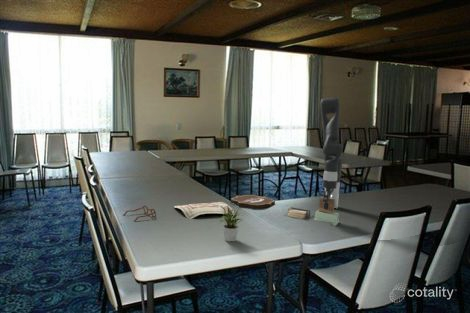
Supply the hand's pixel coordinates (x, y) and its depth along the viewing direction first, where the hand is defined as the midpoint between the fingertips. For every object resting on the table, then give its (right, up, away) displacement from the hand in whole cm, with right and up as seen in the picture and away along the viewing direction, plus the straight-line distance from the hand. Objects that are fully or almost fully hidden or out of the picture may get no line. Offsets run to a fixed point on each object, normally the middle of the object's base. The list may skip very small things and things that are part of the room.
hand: (327, 207), depth 210 cm
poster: (-70, -4, +9) cm, 71 cm away
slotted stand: (-1, -8, +1) cm, 8 cm away
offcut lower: (-17, -5, +4) cm, 18 cm away
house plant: (-55, -9, -38) cm, 68 cm away
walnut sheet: (-1, -7, +1) cm, 7 cm away
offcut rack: (-16, -7, +6) cm, 18 cm away
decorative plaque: (-40, -3, +36) cm, 54 cm away
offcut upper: (-16, -4, +3) cm, 17 cm away
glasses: (-103, -4, -10) cm, 103 cm away
